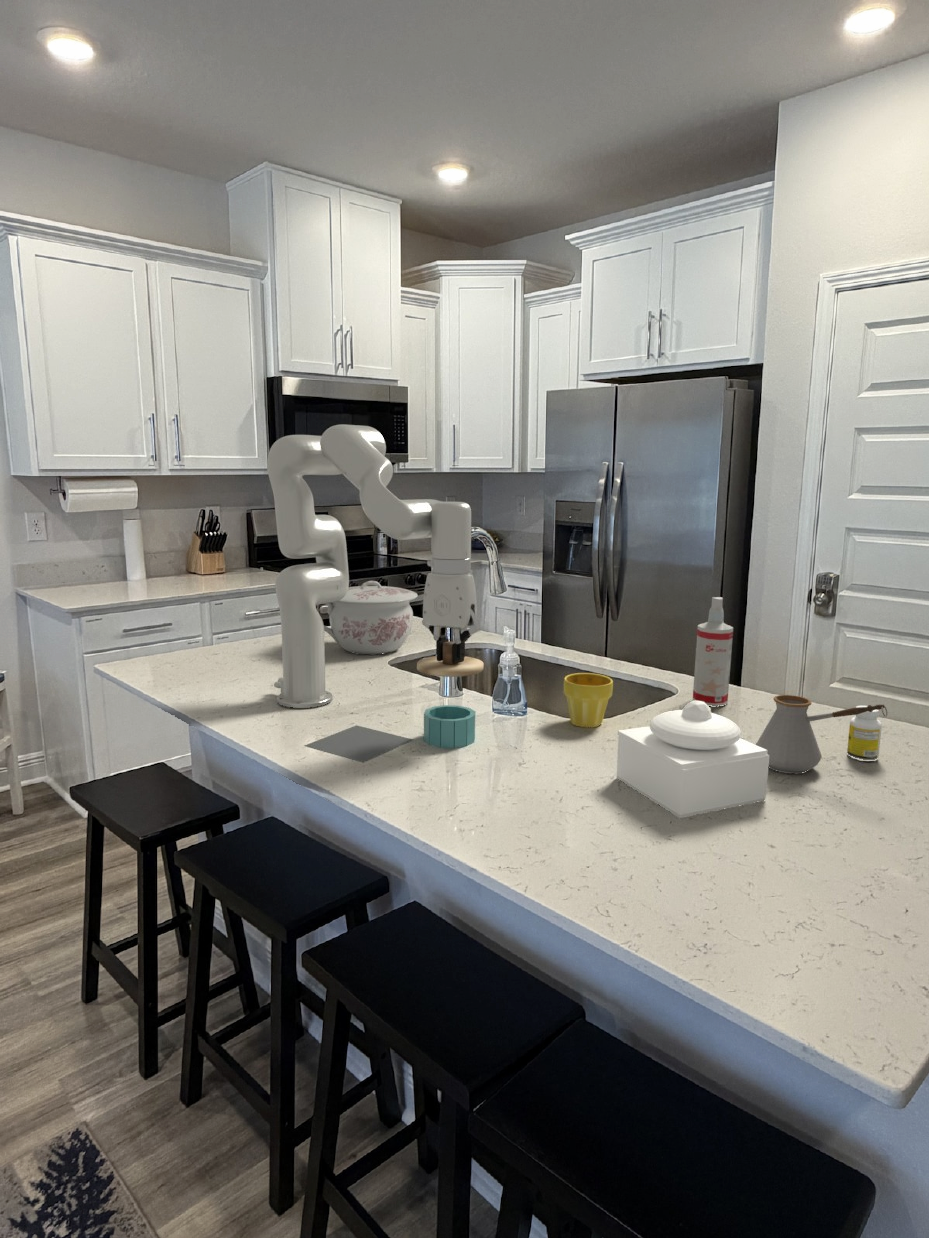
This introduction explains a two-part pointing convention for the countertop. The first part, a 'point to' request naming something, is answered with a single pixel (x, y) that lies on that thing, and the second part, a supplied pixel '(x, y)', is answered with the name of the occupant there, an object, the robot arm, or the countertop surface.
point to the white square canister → (692, 762)
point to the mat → (359, 743)
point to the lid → (449, 664)
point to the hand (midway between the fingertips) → (450, 660)
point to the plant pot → (587, 697)
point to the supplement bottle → (864, 735)
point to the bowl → (449, 726)
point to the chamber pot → (371, 618)
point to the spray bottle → (713, 658)
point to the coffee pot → (797, 734)
